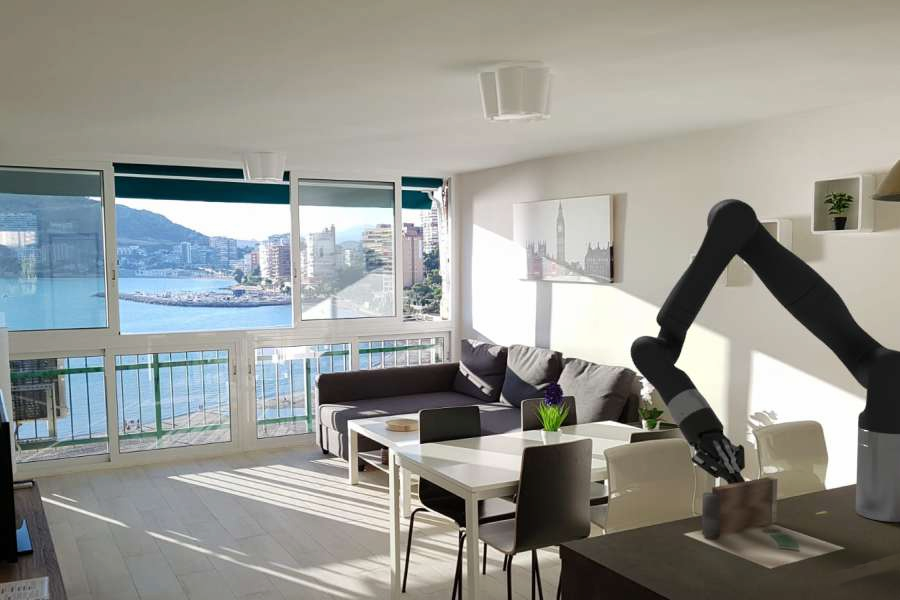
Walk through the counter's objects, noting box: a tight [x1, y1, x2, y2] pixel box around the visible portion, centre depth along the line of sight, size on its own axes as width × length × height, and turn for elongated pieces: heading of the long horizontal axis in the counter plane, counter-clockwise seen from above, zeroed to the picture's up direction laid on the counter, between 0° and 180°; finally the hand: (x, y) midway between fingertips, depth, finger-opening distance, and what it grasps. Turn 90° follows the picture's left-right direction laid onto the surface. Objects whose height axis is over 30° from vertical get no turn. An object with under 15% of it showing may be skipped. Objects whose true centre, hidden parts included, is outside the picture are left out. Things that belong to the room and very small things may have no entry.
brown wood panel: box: [701, 476, 778, 537], centre depth 138 cm, size 18×3×8 cm, turn 119°
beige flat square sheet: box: [683, 523, 845, 569], centre depth 133 cm, size 19×18×2 cm
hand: (743, 493), depth 143 cm, fingers closed
